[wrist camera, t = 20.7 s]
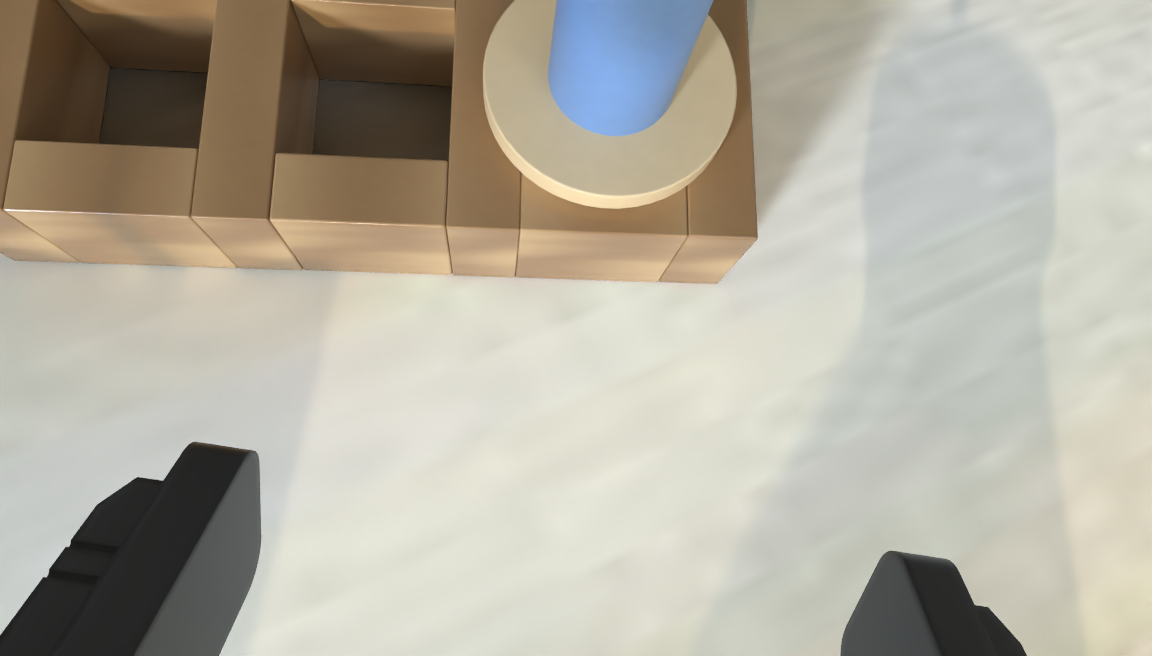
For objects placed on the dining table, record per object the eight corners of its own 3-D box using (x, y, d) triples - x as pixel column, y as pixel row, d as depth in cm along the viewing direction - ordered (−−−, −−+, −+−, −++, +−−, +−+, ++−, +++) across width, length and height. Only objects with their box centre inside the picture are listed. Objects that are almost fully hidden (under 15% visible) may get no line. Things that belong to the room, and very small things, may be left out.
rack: (13, 260, 24) (-81, 207, 20) (55, 10, 25) (-23, -84, 21) (718, 284, 25) (758, 239, 21) (709, 49, 27) (745, -31, 23)
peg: (452, 208, 24) (411, -140, 12) (525, 23, 26) (558, -457, 13) (664, 282, 24) (847, 15, 12) (724, 93, 26) (941, -319, 14)
